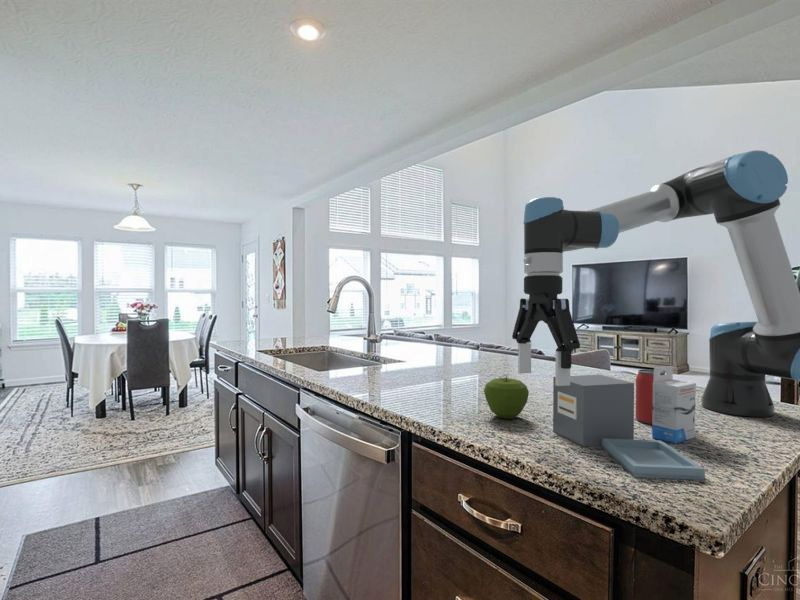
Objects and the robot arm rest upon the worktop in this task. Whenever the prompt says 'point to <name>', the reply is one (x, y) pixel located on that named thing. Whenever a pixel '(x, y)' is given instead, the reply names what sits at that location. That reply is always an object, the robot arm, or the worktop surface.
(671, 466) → the tray
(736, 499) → the worktop surface
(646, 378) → the beer can
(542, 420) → the worktop surface
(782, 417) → the worktop surface
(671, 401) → the ink box
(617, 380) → the box
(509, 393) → the apple
